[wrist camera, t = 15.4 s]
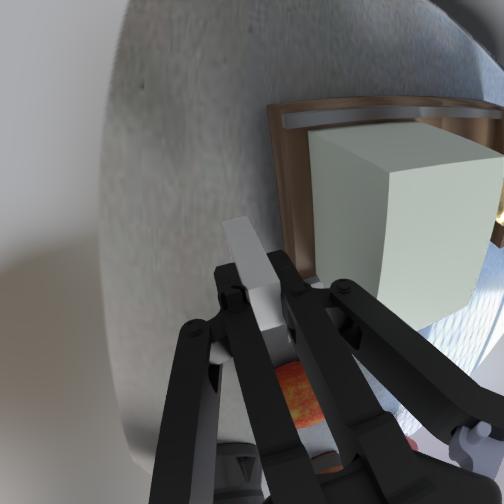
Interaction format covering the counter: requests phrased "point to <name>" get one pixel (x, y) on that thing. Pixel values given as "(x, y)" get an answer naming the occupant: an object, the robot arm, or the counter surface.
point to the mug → (327, 463)
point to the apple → (299, 395)
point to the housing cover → (404, 213)
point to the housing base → (357, 113)
